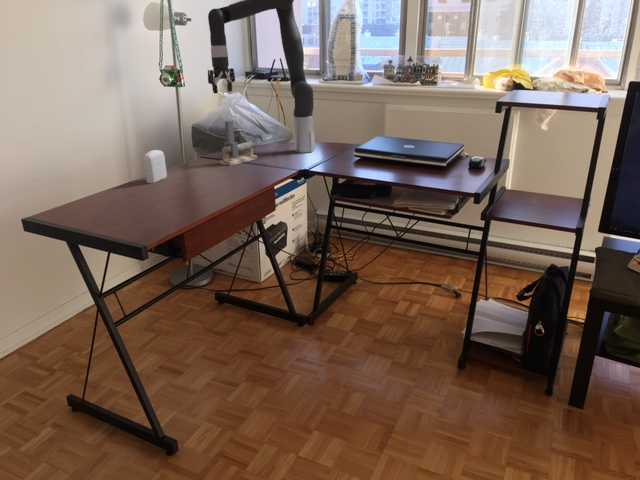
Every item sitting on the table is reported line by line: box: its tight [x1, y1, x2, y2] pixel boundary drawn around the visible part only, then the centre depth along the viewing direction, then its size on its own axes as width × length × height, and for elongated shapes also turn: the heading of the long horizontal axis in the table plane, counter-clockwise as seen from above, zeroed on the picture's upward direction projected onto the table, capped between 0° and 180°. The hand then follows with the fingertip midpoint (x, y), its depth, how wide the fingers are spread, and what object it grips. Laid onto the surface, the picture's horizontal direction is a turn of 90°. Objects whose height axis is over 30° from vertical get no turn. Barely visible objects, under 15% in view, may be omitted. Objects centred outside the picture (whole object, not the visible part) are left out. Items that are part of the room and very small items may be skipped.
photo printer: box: [142, 149, 168, 184], centre depth 222 cm, size 10×4×12 cm, turn 160°
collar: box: [223, 120, 240, 157], centre depth 247 cm, size 3×6×16 cm, turn 50°
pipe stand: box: [219, 141, 258, 166], centre depth 252 cm, size 17×7×8 cm, turn 140°
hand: (222, 92), depth 255 cm, fingers open, 8 cm apart
